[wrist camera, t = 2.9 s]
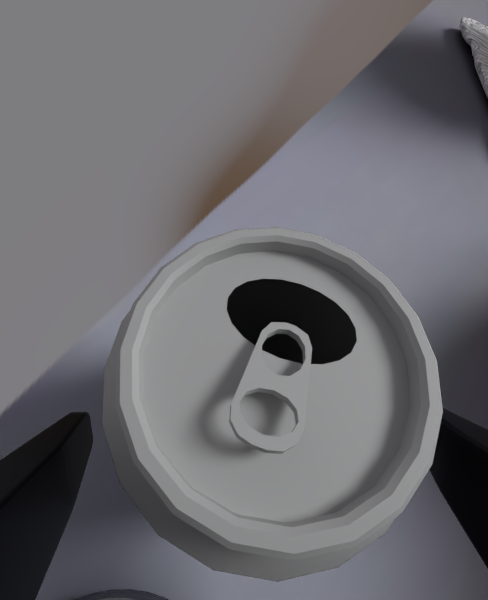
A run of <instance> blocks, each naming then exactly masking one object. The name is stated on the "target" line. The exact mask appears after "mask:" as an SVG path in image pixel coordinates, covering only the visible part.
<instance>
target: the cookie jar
mask: <svg viewBox="0 0 488 600" xmlns="http://www.w3.org/2000/svg"><path fill="white" fill-rule="evenodd" d="M460 29H461V32H462V36H463V38H464V39H465V41H466V42H467V43H468V44H469V45H470V46H471V49H472V55H473V57H474V63H475V68H476V71H477V73H478V76H479V78H480V81H481V84H482V86H483V89H484V91H485V93H486V96H487V98H488V26H485V25H482V24H481V23H479V22H477V21H475V20H473V19H470V18H465V17H463V18H462V19H461V21H460Z"/></svg>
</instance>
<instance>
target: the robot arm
mask: <svg viewBox="0 0 488 600" xmlns="http://www.w3.org/2000/svg"><path fill="white" fill-rule="evenodd" d="M92 443H93V435H92V428H91V421H90V416H89V414H88V413H87V412H72V413H69V414H68V415H66V416H65V417H63V418H62V419H60V420H59V421H57V422H56V423H54V424H53V425H52V426H50V427H49V428H47V429H46V430H44V431H43V432H41V433H40V434H38V435H37V436H35V437H34V438H32V439H31V440H29V441H28V442H27V443H25V444H24V445H22V446H21V447H19V448H18V449H16V450H15V451H13V452H12V453H10V454H9V455H7V456H6V457H4V458H3V459H2V460H0V600H35V599H36V596H37V594H38V591H39V589H40V587H41V584H42V582H43V580H44V577H45V575H46V572H47V570H48V568H49V565H50V563H51V560H52V558H53V556H54V553H55V551H56V548H57V546H58V544H59V541H60V539H61V536H62V534H63V532H64V529H65V527H66V525H67V522H68V520H69V517H70V515H71V512H72V510H73V507H74V504H75V501H76V498H77V494H78V491H79V488H80V484H81V481H82V478H83V475H84V471H85V468H86V465H87V461H88V458H89V455H90V451H91V448H92ZM429 470H430V472H431V474H432V476H433V478H434V480H435V482H436V484H437V485H438V487H439V489H440V491H441V493H442V494H443V496H444V498H445V500H446V501H447V503H448V504H449V506H450V508H451V509H452V511H453V513H454V514H455V516H456V518H457V519H458V521H459V522H460V524H461V526H462V527H463V529H464V531H465V532H466V534H467V536H468V537H469V539H470V540H471V542H472V544H473V545H474V547H475V549H476V550H477V552H478V554H479V555H480V557H481V558H482V560H483V562H484V563H485V565H486V567H487V568H488V430H487V429H485V428H483V427H480V426H478V425H476V424H474V423H472V422H470V421H468V420H466V419H464V418H462V417H460V416H458V415H456V414H454V413H452V412H450V411H448V410H446V409H444V408H443V414H442V419H441V424H440V429H439V434H438V439H437V444H436V449H435V454H434V459H433V464H432V466H431V467H430V469H429Z"/></svg>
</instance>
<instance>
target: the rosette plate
mask: <svg viewBox="0 0 488 600" xmlns="http://www.w3.org/2000/svg"><path fill="white" fill-rule="evenodd" d="M77 600H168V599H166V598H164V597H161V596H158V595H155V594H152V593H149V592H144V591H138V590H131V589H130V590H110V591H104V592H99V593H94V594H91V595H88V596H85V597H82V598H79V599H77Z"/></svg>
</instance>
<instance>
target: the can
mask: <svg viewBox="0 0 488 600" xmlns="http://www.w3.org/2000/svg"><path fill="white" fill-rule="evenodd" d="M442 414H443V408H442V399H441V391H440V382H439V373H438V365H437V360H436V357H435V355H434V353H433V350H432V348H431V346H430V343H429V341H428V338H427V336H426V334H425V331H424V329H423V326H422V324H421V322H420V319H419V317H418V315H417V314H416V313H415V312H414V310H413V309H412V308H411V306H410V305H409V304H408V302H407V301H406V300H405V299H404V297H403V296H402V295H401V293H400V292H399V291H398V289H397V288H396V287H395V286H394V284H393V283H392V282H391V280H390V279H388V278H387V277H386V276H385V275H383V274H382V273H381V272H380V271H378V270H377V269H376V268H375V267H373V266H372V265H371V264H369V263H368V262H367V261H366V260H364V259H363V258H362V257H361V256H359V255H358V254H357V253H356V252H353V251H351V250H349V249H347V248H345V247H342V246H340V245H338V244H336V243H334V242H332V241H329V240H327V239H325V238H323V237H321V236H319V235H315V234H310V233H305V232H300V231H294V230H289V229H284V228H279V227H270V228H254V229H238V230H233V231H230V232H227V233H224V234H222V235H219V236H216V237H213V238H210V239H207V240H204V241H201V242H198V243H196V244H194V245H193V246H191V247H190V248H189V249H187V250H186V251H184V252H183V253H181V254H180V255H179V256H177V257H176V258H174V259H173V260H171V261H170V262H169V263H167V264H166V265H164V266H163V267H161V269H160V270H159V271H158V272H157V274H156V275H155V276H154V278H153V279H152V280H151V281H150V283H149V284H148V285H147V287H146V288H145V289H144V290H143V292H142V293H141V294H140V296H139V297H138V298H137V299H136V301H135V302H134V303H133V305H132V308H131V310H130V312H129V313H128V314H127V315H126V317H125V318H124V319H123V321H122V322H121V325H120V328H119V331H118V333H117V336H116V339H115V341H114V344H113V347H112V350H111V352H110V355H109V358H108V361H107V363H106V366H105V369H104V391H103V419H102V426H103V429H104V432H105V436H106V439H107V442H108V446H109V449H110V452H111V456H112V459H113V462H114V466H115V469H116V472H117V476H118V479H119V482H120V484H121V485H122V487H123V488H124V489H125V491H126V492H127V494H128V495H129V496H130V498H131V499H132V500H133V502H134V503H135V504H136V506H137V507H138V508H139V510H140V511H141V513H142V514H143V515H144V517H145V518H146V519H147V521H148V522H149V523H150V525H151V526H152V527H153V529H154V530H155V531H156V533H157V534H158V535H159V536H161V537H162V538H164V539H165V540H167V541H169V542H170V543H172V544H173V545H175V546H176V547H178V548H179V549H181V550H183V551H184V552H186V553H187V554H189V555H190V556H192V557H194V558H195V559H197V560H198V561H200V562H201V563H203V564H205V565H206V566H208V567H209V568H211V569H212V570H215V571H221V572H227V573H232V574H238V575H243V576H249V577H254V578H260V579H266V580H271V581H277V582H278V581H282V580H286V579H291V578H295V577H299V576H304V575H308V574H312V573H316V572H321V571H325V570H329V569H333V568H338V567H340V566H341V565H342V564H344V563H345V562H346V561H348V560H349V559H351V558H352V557H353V556H355V555H356V554H357V553H359V552H360V551H361V550H363V549H364V548H365V547H367V546H368V545H370V544H371V543H372V542H374V541H375V540H376V539H378V538H379V537H380V536H382V535H383V534H384V533H386V532H387V531H388V529H389V528H390V526H391V524H392V523H393V521H394V520H395V518H396V517H397V516H398V515H400V514H401V513H402V512H403V511H404V509H405V508H406V506H407V505H408V503H409V501H410V500H411V498H412V496H413V495H414V493H415V492H416V490H417V488H418V487H419V485H420V483H421V482H422V480H423V479H424V477H425V475H426V474H427V472H428V471H429V469H430V467H431V466H432V464H433V459H434V454H435V449H436V444H437V439H438V434H439V429H440V424H441V419H442Z"/></svg>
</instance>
